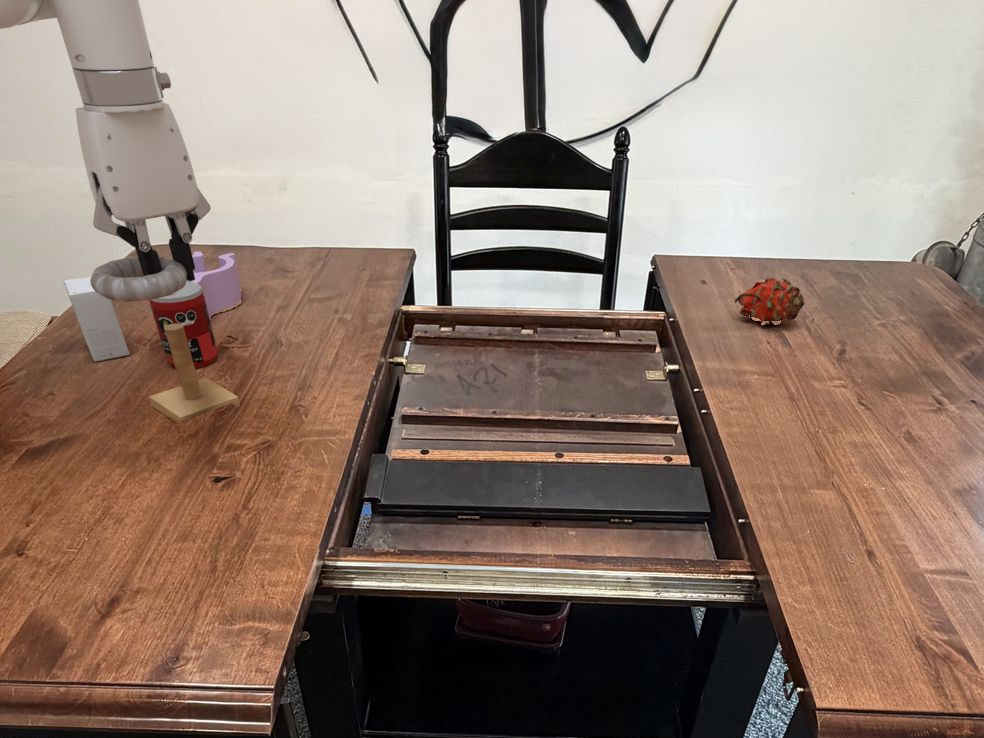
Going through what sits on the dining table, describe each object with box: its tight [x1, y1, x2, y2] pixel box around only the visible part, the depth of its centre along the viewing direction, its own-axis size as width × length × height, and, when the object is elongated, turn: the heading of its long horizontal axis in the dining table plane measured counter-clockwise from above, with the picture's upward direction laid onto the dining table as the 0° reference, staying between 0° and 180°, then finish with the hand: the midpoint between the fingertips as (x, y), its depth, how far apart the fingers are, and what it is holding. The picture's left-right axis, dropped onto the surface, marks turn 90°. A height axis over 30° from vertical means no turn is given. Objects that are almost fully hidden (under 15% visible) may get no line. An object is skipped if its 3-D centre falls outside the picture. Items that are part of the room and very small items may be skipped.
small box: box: [62, 276, 131, 363], centre depth 113 cm, size 8×6×10 cm
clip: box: [171, 251, 242, 318], centre depth 130 cm, size 20×12×7 cm, turn 173°
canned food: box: [148, 281, 218, 369], centre depth 111 cm, size 8×8×11 cm
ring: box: [90, 256, 187, 303], centre depth 81 cm, size 10×10×2 cm
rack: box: [148, 324, 241, 424], centre depth 99 cm, size 9×9×12 cm
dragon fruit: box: [734, 277, 806, 323], centre depth 128 cm, size 8×8×12 cm
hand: (171, 280), depth 83 cm, fingers closed on ring, 3 cm apart
